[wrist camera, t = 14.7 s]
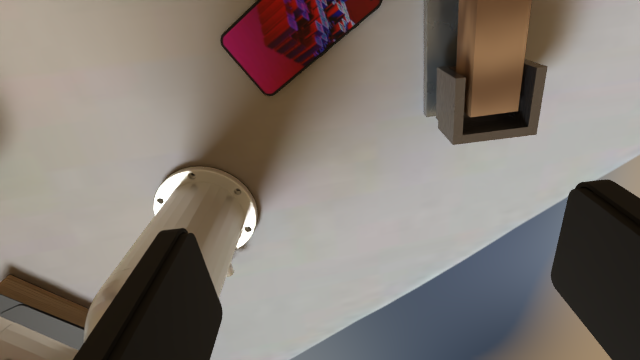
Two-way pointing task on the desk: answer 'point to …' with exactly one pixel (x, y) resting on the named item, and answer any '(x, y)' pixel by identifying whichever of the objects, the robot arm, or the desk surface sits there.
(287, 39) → the smartphone
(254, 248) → the desk surface
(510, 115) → the bracket stand
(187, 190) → the robot arm
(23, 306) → the dark grey book
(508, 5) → the brown tall rectangular block
